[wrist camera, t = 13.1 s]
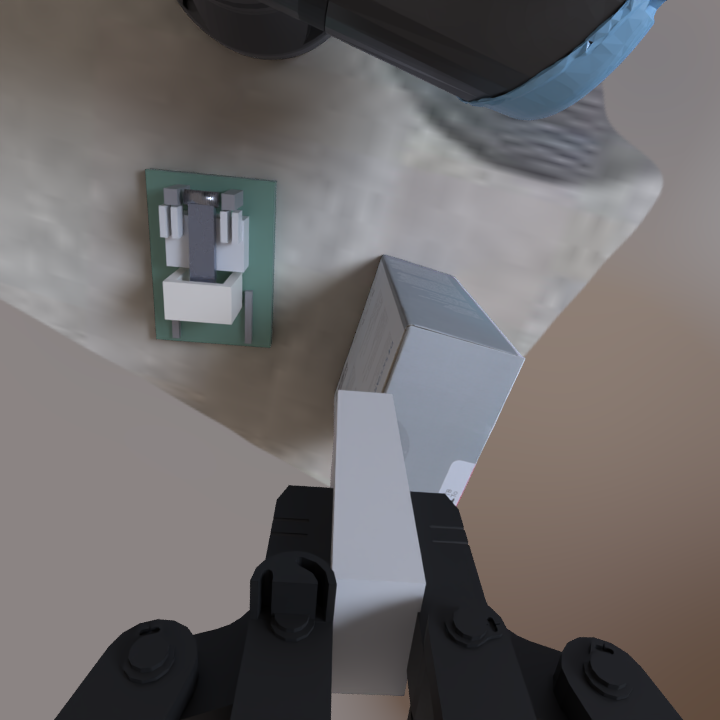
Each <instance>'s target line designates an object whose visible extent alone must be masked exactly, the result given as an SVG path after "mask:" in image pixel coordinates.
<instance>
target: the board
mask: <svg viewBox="0 0 720 720" xmlns="http://www.w3.org/2000/svg"><path fill="white" fill-rule="evenodd" d="M145 174H146V189H147V204H148V219H149V234H150V249H151V264H152V279H153V294H154V309H155V324H156V339H162V340H175V341H188V342H201V343H214V344H227V345H240V346H253V347H266V348H270V347H271V344H272V323H273V288H274V253H275V218H276V182H277V181H274V180H264V179H253V178H243V177H233V176H222V175H212V174H202V173H191V172H181V171H170V170H160V169H145ZM184 189H191V190H202V191H212V192H219V193H220V207H219V208H216V266H217V283H218V284H223V283H224V282H225V281H226V280H227V279H228V277H229V276H230V275H231V274H232V273H233V272H242V308H241V310H240V311H239V313H238V315H237V316H236V318H235V320H234V321H233V323H232V325H229V324H217V323H204V322H191V321H179V320H166V319H165V312H164V295H163V281H164V280H165V279H166V278H168V277H169V276H170V275H171V274H173V273H174V272H175V271H176V270H178V269H179V268H180V267H184V268H190V266H189V228H188V205H185V204H184V201H183V192H184Z"/></svg>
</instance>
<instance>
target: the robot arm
mask: <svg viewBox="0 0 720 720" xmlns="http://www.w3.org/2000/svg"><path fill="white" fill-rule="evenodd" d="M177 1H178V3H179V4H180V5H181V7H182V8H183V10H184V11H185V12H186V13H187V15H188V16H189V17H190V18H191V19H192V20H193V21H194V22H195V23H196V24H197V25H198V26H199V27H200V28H201V29H202V30H203V31H205V32H206V33H207V34H208V35H209V36H211V37H212V38H214V39H215V40H216V41H218V42H219V43H221V44H222V45H224V46H226V47H227V48H229V49H231V50H233V51H235V52H238V53H240V54H243V55H246V56H249V57H253V58H259V59H268V60H277V59H286V58H291V57H295V56H298V55H301V54H304V53H306V52H308V51H310V50H312V49H314V48H316V47H317V46H319V45H320V44H322V43H323V42H325V41H326V40H327V39H328V38H329V37H331V36H332V37H335V38H337V39H339V40H341V41H343V42H345V43H347V44H349V45H351V46H353V47H355V48H357V49H359V50H362V51H364V52H366V53H368V54H370V55H372V56H374V57H376V58H378V59H380V60H382V61H384V62H387V63H389V64H391V65H393V66H395V67H397V68H399V69H401V70H403V71H405V72H407V73H409V74H411V75H414V76H416V77H418V78H420V79H422V80H424V81H426V82H428V83H430V84H432V85H434V86H436V87H439V88H441V89H443V90H445V91H447V92H449V93H451V94H453V95H455V96H456V97H457V98H458V99H459V100H461V101H462V102H464V103H466V104H467V103H469V104H470V105H472V106H479V107H486V108H489V109H492V110H494V111H497V112H499V113H502V114H504V115H507V116H509V117H512V118H514V119H519V120H537V119H541V118H545V117H549V116H551V115H554V114H556V113H558V112H560V111H562V110H564V109H566V108H568V107H569V106H571V105H573V104H574V103H576V102H577V101H579V100H580V99H581V98H583V97H584V96H585V95H587V94H588V93H589V92H590V91H592V90H593V89H594V88H595V87H596V86H598V85H599V84H600V83H601V82H602V81H603V80H604V79H605V78H606V77H607V76H609V74H610V73H611V72H612V71H614V70H615V69H616V68H617V67H618V66H619V65H620V64H621V63H622V62H623V61H624V59H625V58H626V57H627V56H628V55H629V54H630V53H631V52H632V50H633V49H634V48H635V47H636V46H637V45H638V43H639V42H640V41H641V40H642V39H643V37H644V36H645V35H646V34H647V32H648V31H649V30H650V28H651V27H652V26H653V24H654V15H655V13H656V10H657V9H658V8H659V7H660V6H661V5H662V4H663V3H664V2H665V1H667V0H177ZM463 527H464V526H463V523H462V520H461V516H460V513H459V510H458V508H457V507H456V506H455V505H454V504H453V502H452V501H451V500H450V499H449V498H448V497H447V495H446V494H445V493H429V492H413V491H409V485H408V479H407V474H406V468H405V462H404V457H403V451H402V445H401V440H400V434H399V428H398V423H397V417H396V412H395V406H394V400H393V395H392V394H386V393H373V392H359V391H346V390H338V397H337V409H336V420H335V432H334V443H333V455H332V466H331V482H330V488H324V487H307V486H291V485H289V486H288V487H287V489H286V490H285V491H284V492H283V493H282V495H280V497H279V498H278V499H277V502H276V507H275V512H274V519H273V523H272V528H271V535H270V538H269V544H268V550H267V554H266V560H265V561H263V562H262V563H261V564H260V565H259V566H258V567H257V568H256V569H255V571H254V574H253V576H252V578H251V580H250V610H249V611H248V612H247V613H246V614H245V615H243V616H242V617H241V618H240V619H238V620H236V621H235V622H233V623H231V624H230V625H227V626H224V627H221V628H219V629H215V630H211V631H207V632H203V633H199V634H195V635H192V633H191V632H190V630H189V629H188V627H186V626H184V625H182V624H180V623H178V622H176V621H172V620H160V619H157V620H152V621H148V622H144V623H140V624H138V625H136V626H134V627H132V628H131V629H129V630H127V631H125V632H124V633H122V634H121V635H120V636H119V637H118V638H117V639H116V640H115V641H114V642H113V643H112V644H111V645H110V646H109V647H108V648H107V650H106V651H105V653H104V654H103V655H102V656H101V658H100V659H99V660H98V662H97V663H96V664H95V666H94V667H93V668H92V670H91V671H90V672H89V674H88V675H87V676H86V678H85V679H84V681H83V682H82V683H81V685H80V686H79V687H78V689H77V690H76V691H75V693H74V694H73V695H72V697H71V698H70V699H69V701H68V702H67V703H66V705H65V706H64V707H63V709H62V710H61V711H60V713H59V714H58V716H57V717H56V718H55V719H54V720H331V693H342V694H369V695H394V696H404V694H405V689H406V683H407V679H408V688H409V697H410V709H409V714H408V719H407V720H683V719H682V718H681V717H680V715H679V714H678V713H677V712H676V710H675V709H674V708H673V707H672V705H671V704H670V703H669V701H668V700H667V699H666V698H665V696H664V695H663V694H662V693H661V691H660V690H659V689H658V688H657V686H656V685H655V684H654V683H653V681H652V680H651V679H650V677H649V676H648V675H647V674H646V672H645V671H644V670H643V669H642V668H641V666H640V665H638V664H637V662H635V660H634V659H633V658H632V657H631V656H629V654H628V653H626V652H624V651H623V650H621V649H620V648H618V647H616V646H615V645H613V644H612V643H609V642H606V641H603V640H600V639H597V638H594V637H592V638H591V637H589V638H587V637H579V638H576V639H574V640H572V641H570V642H568V643H567V645H566V646H565V648H564V650H563V651H562V652H560V651H557V650H554V649H551V648H548V647H546V646H542V645H540V644H537V643H534V642H531V641H528V640H526V639H524V638H522V637H519V636H517V635H516V634H514V633H513V632H511V631H510V630H508V629H507V628H506V626H505V625H504V622H503V621H502V619H501V617H500V616H499V615H498V614H497V613H496V612H495V611H494V610H493V609H492V608H491V607H489V606H488V605H487V603H486V600H485V597H484V593H483V590H482V587H481V583H480V580H479V577H478V573H477V570H476V567H475V563H474V560H473V557H472V553H471V550H470V546H469V545H468V540H467V537H466V533H465V530H464V528H463Z"/></svg>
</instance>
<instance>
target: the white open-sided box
mask: <svg viewBox="0 0 720 720" xmlns="http://www.w3.org/2000/svg"><path fill="white" fill-rule="evenodd" d="M163 295H164V312H165V319H166V320H179V321H191V322H204V323H217V324H229V325H232V323H233V321H234V320H235V318H236V316H237V315H238V313H239V311H240V310H241V308H242V272H233V273H232V274H231V275H230V276H229V277H228V279H227V280H226V281H225V282H224V283H223V284H218V283H206V282H194V281H190V268H184V267H180V268H179V269H178V270H176V271H175V272H174V273H173V274H171V275H170V276H169V277H168V278H166V279H165V280H164V281H163Z"/></svg>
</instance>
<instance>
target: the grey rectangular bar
mask: <svg viewBox="0 0 720 720" xmlns="http://www.w3.org/2000/svg"><path fill="white" fill-rule="evenodd" d="M183 201H184V204H185V205H188V228H189V266H190V281H194V282H206V283H217V266H216V208H219V207H220V193H219V192H212V191H202V190H191V189H184V192H183Z"/></svg>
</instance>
